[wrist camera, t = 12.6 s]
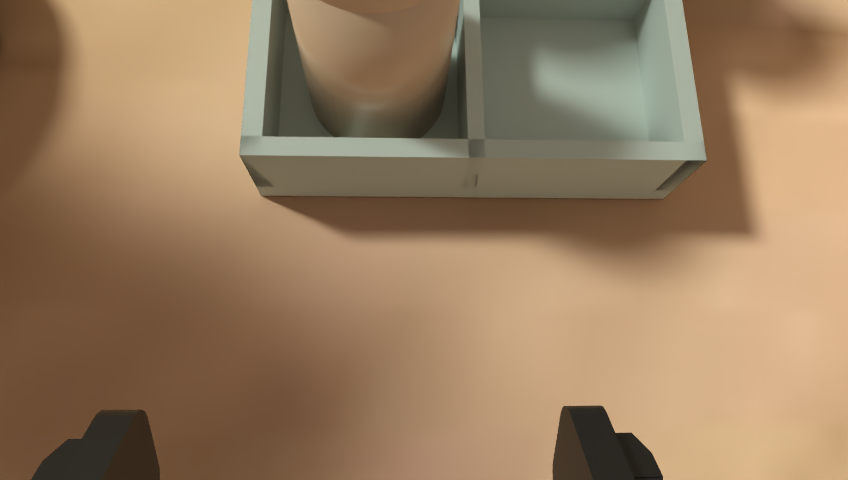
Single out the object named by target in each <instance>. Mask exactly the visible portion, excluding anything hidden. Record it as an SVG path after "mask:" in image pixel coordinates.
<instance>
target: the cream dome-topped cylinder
mask: <svg viewBox="0 0 848 480" xmlns="http://www.w3.org/2000/svg"><path fill="white" fill-rule="evenodd" d="M287 3H288V7H289V11H290V15H291V19H292V23H293V28H294V32H295V36H296V40H297V44H298V49H299V53H300V57H301V61H302V65H303V70H304V74H305V78H306V82H307V86H308V91H309V95H310V99H311V103H312V106H313V110H314V112H315V114H316V116H317V118H318V120H319V121H320V123H321V124H322V126H323V127H324V128H325V129H326V130H327V131H328V132H329V133H330V134H331V135H333V136H334V137H350V138H421V137H422V136H423V135H425V134H426V133H427V132H428V131H429V130H430V129H431V128H432V126H433V125H434V124H435V122H436V121H437V119H438V117H439V115H440V113H441V111H442V108H443V104H444V99H445V93H446V87H447V80H448V74H449V67H450V61H451V55H452V48H453V42H454V35H455V29H456V22H457V16H458V10H459V3H460V0H287Z"/></svg>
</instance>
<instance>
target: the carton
mask: <svg viewBox="0 0 848 480" xmlns="http://www.w3.org/2000/svg"><path fill="white" fill-rule="evenodd" d="M239 155H240V157H241V159H242V161H243V163H244V165H245V166H246V168H247V170H248V172H249V174H250V176H251V178H252V179H253V181H254V183H255V185H256V187H257V189H258V191H259V193H260V194H261V196H364V197H482V198H600V199H664V198H665V197H666V196H667V195H668V194H669V193H670V192H672V191H673V190H674V189H675V188H676V187H677V186H678V185H680V184H681V183H682V182H683V181H684V180H685V179H686V178H687V177H689V176H690V175H691V174H692V173H693V172H694V171H695V170H697V169H698V168H699V167H700V166H701V165H702V164H703V163H704V162H706V161H707V159H706V152H705V146H704V139H703V133H702V126H701V120H700V113H699V107H698V100H697V94H696V87H695V81H694V74H693V68H692V61H691V55H690V48H689V42H688V35H687V29H686V22H685V16H684V9H683V3H682V0H460V3H459V10H458V16H457V22H456V29H455V35H454V42H453V48H452V55H451V61H450V67H449V74H448V80H447V87H446V93H445V99H444V104H443V108H442V111H441V113H440V115H439V117H438V119H437V121H436V122H435V124H434V125H433V126H432V128H431V129H430V130H429V131H428V132H427V133H426V134H425V135H423V136H422V137H421V138H350V137H334V136H333V135H331V134H330V133H329V132H328V131H327V130H326V129H325V128H324V127H323V126H322V124H321V123H320V121H319V120H318V118H317V116H316V114H315V112H314V110H313V106H312V103H311V99H310V95H309V91H308V86H307V82H306V78H305V74H304V70H303V65H302V61H301V57H300V53H299V49H298V44H297V40H296V36H295V32H294V28H293V23H292V19H291V15H290V11H289V7H288V3H287V0H252V10H251V22H250V34H249V46H248V58H247V70H246V82H245V94H244V106H243V118H242V130H241V142H240V154H239Z"/></svg>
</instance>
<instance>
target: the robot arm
mask: <svg viewBox="0 0 848 480" xmlns="http://www.w3.org/2000/svg"><path fill="white" fill-rule="evenodd" d="M31 480H160V470H159V464H158V460H157V455H156V451H155V447H154V443H153V438H152V434H151V430H150V425H149V421H148V417H147V415H146V413H145V411H143V410H102V411H100V412H98V414H97V415H96V416H95V417H94V419H93V421H92V423H91V424H90V426H89V428H88V429H87V431H86V433H85V434H84V436H83V438H82V439H68V440H67V441H65V442H64V443H63V444H62V445H61V446H60V447H58V448H57V449H56V450H55V451H54V452H53V453H51V454H50V455H49V456H48V457H47V458H46V459H45V460H43V462H42V463H41V465H40V466H39V468H38V469H37V471H36V473H35V474H34V476H33V477H32V479H31ZM553 480H663V476H662V474H661V471H660V469H659V467H658V465H657V463H656V461H655V459H654V457H653V455H652V453H651V452H650V451H649V450H648V449H647V448H646V447H645V446H644V445H643V444H642V443H641V442H640V441H639V440H638V439H637V438H636V437H635V436H634V435H633V434H632V433H615V431H614V429H613V427H612V424H611V422H610V419H609V417H608V415H607V412H606V410H605V409H604V407H603V406H564V407H563V408H562V411H561V415H560V421H559V428H558V434H557V440H556V447H555V453H554V459H553Z"/></svg>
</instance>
